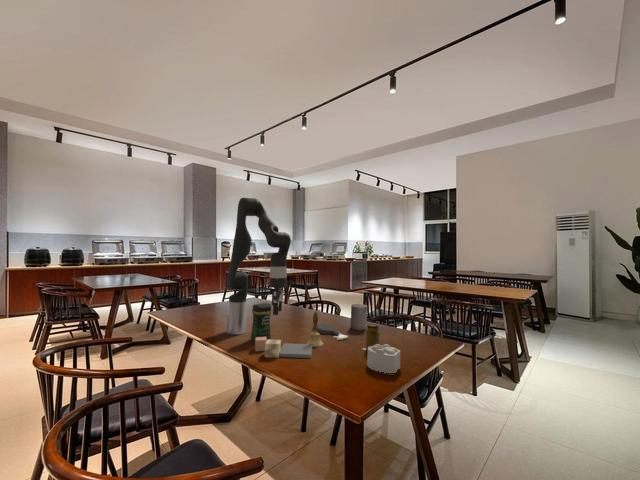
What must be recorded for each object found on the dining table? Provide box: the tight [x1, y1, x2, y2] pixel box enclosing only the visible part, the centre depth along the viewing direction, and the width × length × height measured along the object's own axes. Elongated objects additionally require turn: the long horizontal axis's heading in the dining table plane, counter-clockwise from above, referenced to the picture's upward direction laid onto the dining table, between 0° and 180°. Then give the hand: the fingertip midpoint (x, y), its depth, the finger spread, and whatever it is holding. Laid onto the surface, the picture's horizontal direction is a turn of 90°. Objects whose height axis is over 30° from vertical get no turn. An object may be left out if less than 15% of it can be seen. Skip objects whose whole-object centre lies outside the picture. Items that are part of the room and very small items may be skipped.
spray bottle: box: [312, 323, 349, 341], centre depth 173 cm, size 3×11×24 cm
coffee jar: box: [250, 302, 272, 342], centre depth 159 cm, size 10×8×19 cm
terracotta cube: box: [254, 337, 267, 352], centre depth 145 cm, size 5×5×5 cm
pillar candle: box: [349, 303, 368, 331], centre depth 187 cm, size 10×10×15 cm
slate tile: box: [279, 342, 313, 359], centre depth 142 cm, size 14×14×2 cm
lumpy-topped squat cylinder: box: [366, 343, 401, 375], centre depth 127 cm, size 10×13×9 cm
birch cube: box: [264, 338, 282, 359], centre depth 137 cm, size 6×6×6 cm
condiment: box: [361, 323, 380, 353], centre depth 147 cm, size 7×8×12 cm
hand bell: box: [306, 311, 324, 348], centre depth 154 cm, size 8×8×16 cm
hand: (277, 312), depth 138 cm, fingers open, 8 cm apart
